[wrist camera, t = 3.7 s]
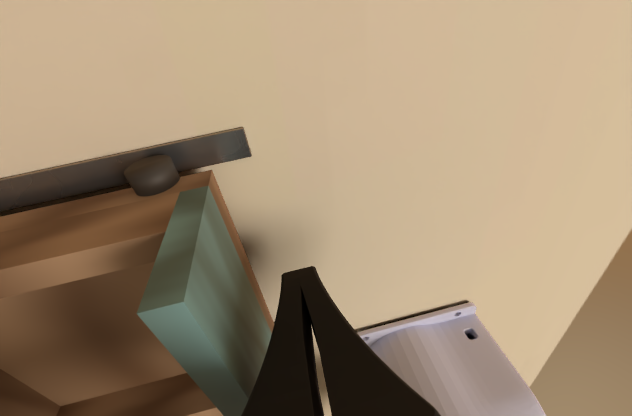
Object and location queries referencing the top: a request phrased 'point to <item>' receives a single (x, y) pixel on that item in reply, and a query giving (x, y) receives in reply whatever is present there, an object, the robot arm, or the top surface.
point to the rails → (118, 168)
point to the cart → (130, 303)
